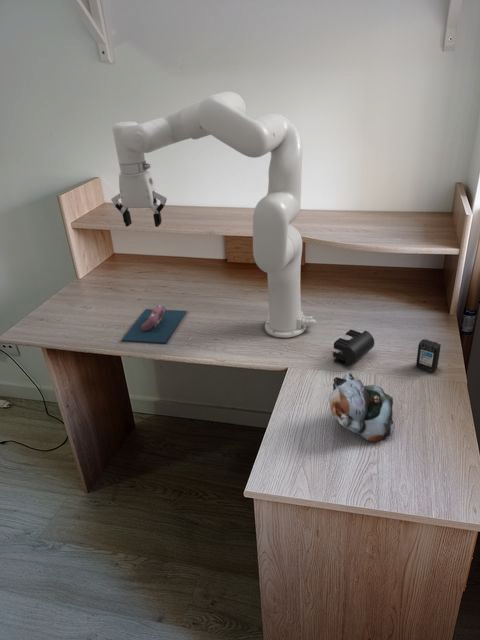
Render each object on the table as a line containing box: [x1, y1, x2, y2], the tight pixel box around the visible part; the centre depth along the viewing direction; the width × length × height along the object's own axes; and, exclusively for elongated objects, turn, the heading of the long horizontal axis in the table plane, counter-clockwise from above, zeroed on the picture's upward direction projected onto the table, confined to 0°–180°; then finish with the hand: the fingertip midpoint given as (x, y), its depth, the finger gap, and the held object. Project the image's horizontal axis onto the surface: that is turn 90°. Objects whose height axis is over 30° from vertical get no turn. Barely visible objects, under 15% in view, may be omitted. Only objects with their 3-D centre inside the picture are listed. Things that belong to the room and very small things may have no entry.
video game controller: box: [141, 304, 167, 331], centre depth 161 cm, size 10×5×7 cm, turn 168°
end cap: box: [332, 329, 375, 367], centre depth 140 cm, size 10×7×7 cm
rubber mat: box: [121, 308, 187, 345], centre depth 163 cm, size 14×20×1 cm
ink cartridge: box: [415, 338, 442, 374], centre depth 134 cm, size 5×2×8 cm, turn 51°
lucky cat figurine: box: [328, 372, 395, 443], centre depth 115 cm, size 15×12×14 cm
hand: (143, 225), depth 160 cm, fingers open, 9 cm apart
